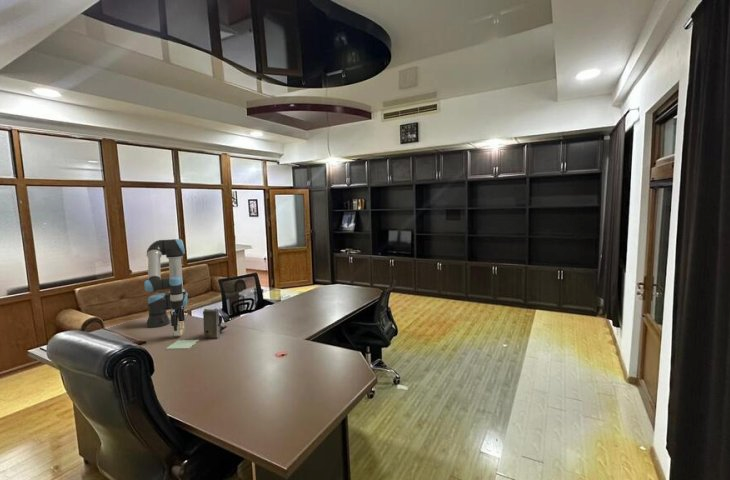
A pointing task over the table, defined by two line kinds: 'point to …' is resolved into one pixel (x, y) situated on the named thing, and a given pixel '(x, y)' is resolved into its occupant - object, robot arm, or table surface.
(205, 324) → the grey upright block
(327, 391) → the table surface
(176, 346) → the rest mat
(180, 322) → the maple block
